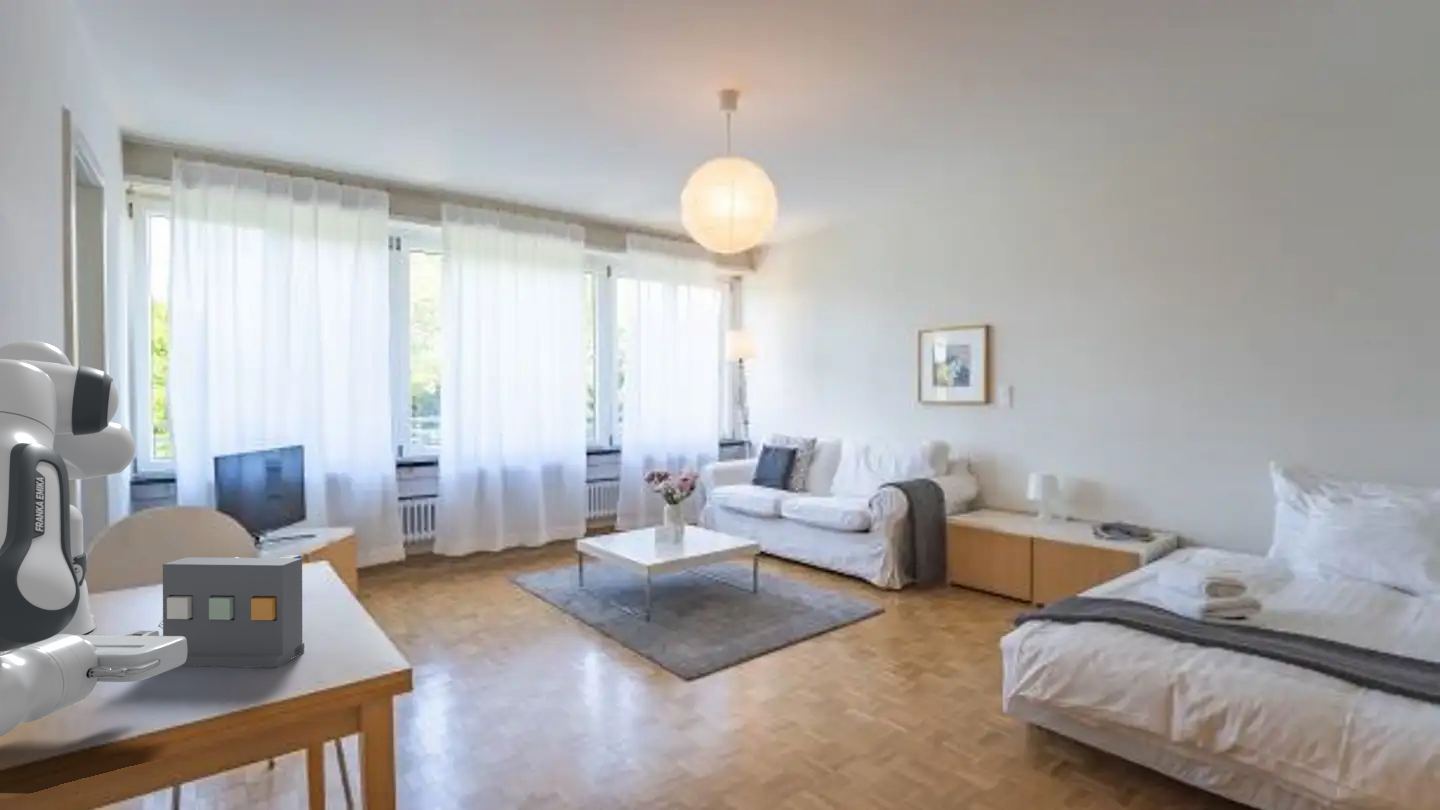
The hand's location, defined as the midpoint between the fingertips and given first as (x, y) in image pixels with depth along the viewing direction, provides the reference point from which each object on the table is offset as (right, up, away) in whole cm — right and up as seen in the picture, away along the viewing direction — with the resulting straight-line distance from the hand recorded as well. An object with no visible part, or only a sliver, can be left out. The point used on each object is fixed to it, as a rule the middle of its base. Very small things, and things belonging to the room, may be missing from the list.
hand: (149, 636), depth 99 cm
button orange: (+7, -2, +15) cm, 16 cm away
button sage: (0, -2, +15) cm, 15 cm away
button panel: (0, -9, +17) cm, 19 cm away
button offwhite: (-7, -2, +15) cm, 17 cm away
